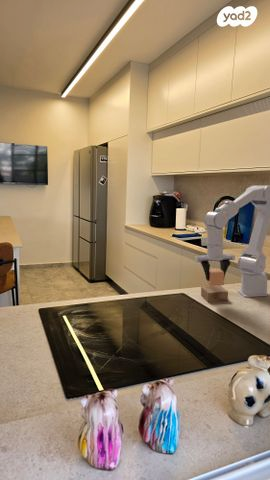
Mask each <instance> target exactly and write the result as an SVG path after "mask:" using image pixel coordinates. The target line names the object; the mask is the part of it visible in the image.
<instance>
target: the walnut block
mask: <svg viewBox="0 0 270 480" xmlns="http://www.w3.org/2000/svg"><path fill="white" fill-rule="evenodd" d="M200 289H201V290H200V296H201V297H202V298H203V299H204V300H205V301H206V302H207V303H218V302H228V301H229V291H228V290H227V289H226V288H224V287H223V285H217V286H210V285H206V286H201V287H200Z"/></svg>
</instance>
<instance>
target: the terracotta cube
mask: <svg viewBox="0 0 270 480" xmlns="http://www.w3.org/2000/svg"><path fill="white" fill-rule="evenodd" d="M209 277H210V278H209V281H207V280H206V283H207V284H208V286H217V285H220V286H224V285H225V277H224V272H223V271H222V270H221V268H210V270H209Z"/></svg>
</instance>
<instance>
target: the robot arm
mask: <svg viewBox="0 0 270 480" xmlns="http://www.w3.org/2000/svg"><path fill="white" fill-rule="evenodd" d="M249 203H251V204H252V205H253V206H254V208H256V209H257V215H256V218H255V222H254V226H253V228H252V232H251V236H250V240H249V243H248V247H247V248H245V249H244V250H242V251H241V254H240V255H239V257H238V260H237V267H238V268H239V271H240V273H241V282H240V283H241V288H240V289H237V291H238V292H237V293H239V294H241V296H243V297H244V298H250V297H253V298H254V297H256V298H257V297H268V295H269V294H268V277H267V276H268V275H267V274H266V273H265V272H264V271H265V270H266V264H267V263H266V260H267V256H266V255H265V253H264V252H263V248H264V244H265V242H266V237H267V234H268V230H269V226H270V184H269V185H266V184H264V185H254V184H253V185H250V186H249V187H247V188H246V189H245V191H244V192H243V193H242V194H241V195H239V196H238V197H237V198H235V199H234V200H226V201H224V204H222V205H220V207H216V208H215V210H214V211H209V212H207V214H205V217H204V219H203V223H204V226H205V227H206V228H205V229H206V233H207V234H206V235H207V236H206V238H207V239H206V240H207V241H206V243H207V244H206V248H207V249H206V250H207V251H206V254H202V255H195V257H194V259H195V262H196V263H200V264H201V266H202V269H203V272H204V275H205V280H206V282H207V281H209V278H210V277H209V270H210V269H211V264H210V262H219V267H220V269H221V270H222V271H223V272H224V278H225V277H226V273H227V272H228V268H229V267H230V265H231V261H236V255H235V254H233V253H229V254H227V253H224V228H225V227H226V225H227V224H228V221H229V220H230V219H232V218H233V217H235V216H236V215H237V214H238V213H239V211H240V209H241V208H242V207H244V206H246V205H247V204H249Z"/></svg>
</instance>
